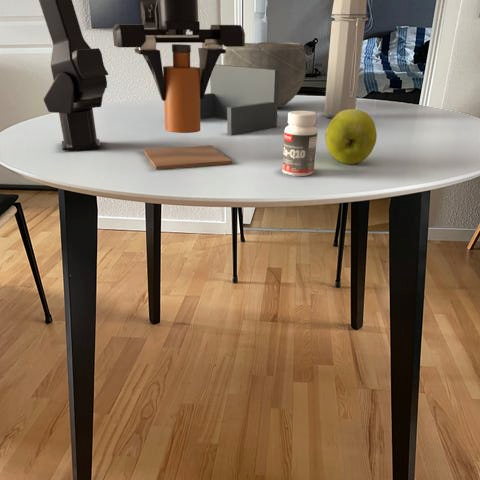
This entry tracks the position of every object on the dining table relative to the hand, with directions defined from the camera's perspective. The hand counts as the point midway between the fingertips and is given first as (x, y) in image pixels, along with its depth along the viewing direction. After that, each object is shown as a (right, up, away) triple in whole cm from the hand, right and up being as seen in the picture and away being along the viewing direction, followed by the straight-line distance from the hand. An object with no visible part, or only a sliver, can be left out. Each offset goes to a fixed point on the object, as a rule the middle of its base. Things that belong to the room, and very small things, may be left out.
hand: (182, 99), depth 78 cm
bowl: (+15, +21, +53) cm, 59 cm away
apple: (+26, -9, +2) cm, 28 cm away
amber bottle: (0, -4, +2) cm, 5 cm away
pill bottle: (+18, -12, -3) cm, 22 cm away
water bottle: (+33, +13, +40) cm, 53 cm away
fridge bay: (+5, +8, +31) cm, 33 cm away
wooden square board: (0, -8, +5) cm, 9 cm away
